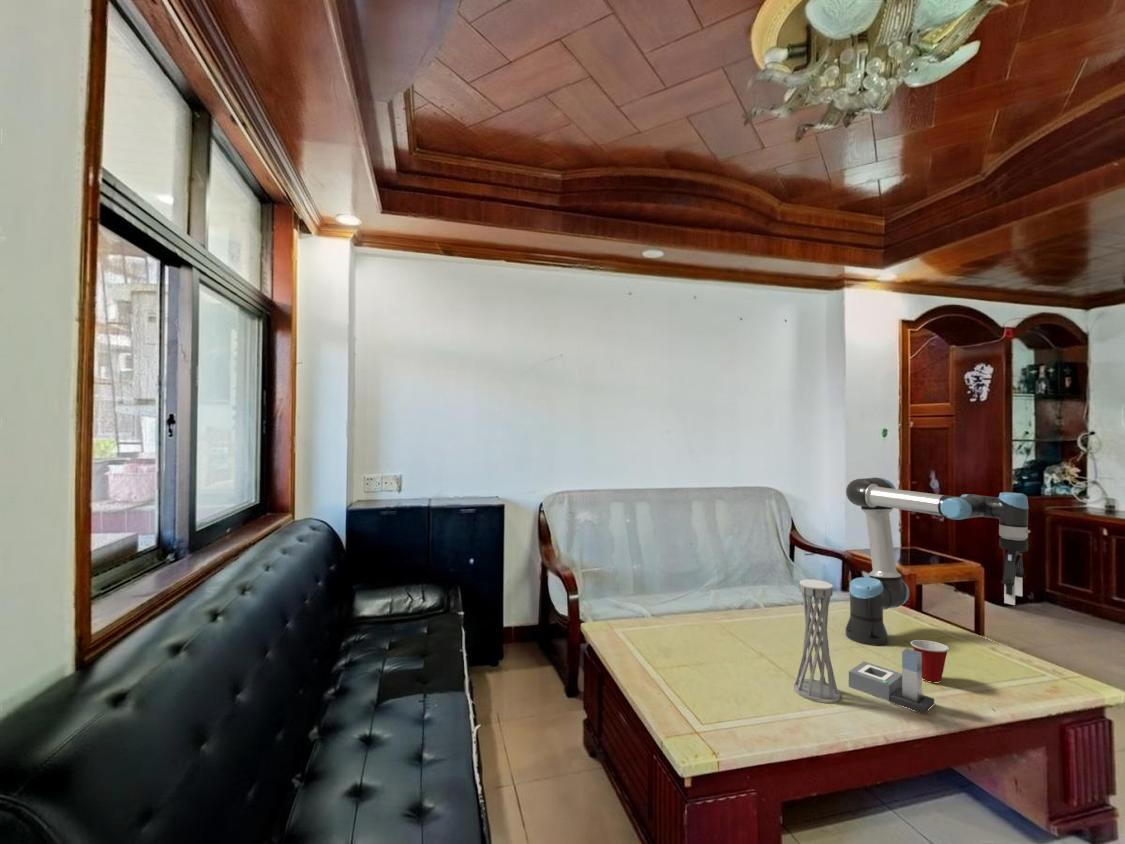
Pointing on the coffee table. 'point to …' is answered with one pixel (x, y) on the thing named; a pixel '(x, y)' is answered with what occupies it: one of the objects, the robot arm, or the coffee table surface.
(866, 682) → the port
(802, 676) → the grey tall lattice tower
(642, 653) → the coffee table surface
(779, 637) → the coffee table surface
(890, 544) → the robot arm
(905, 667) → the plug
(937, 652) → the plastic cup
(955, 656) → the coffee table surface
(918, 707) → the dark grey slot tray
